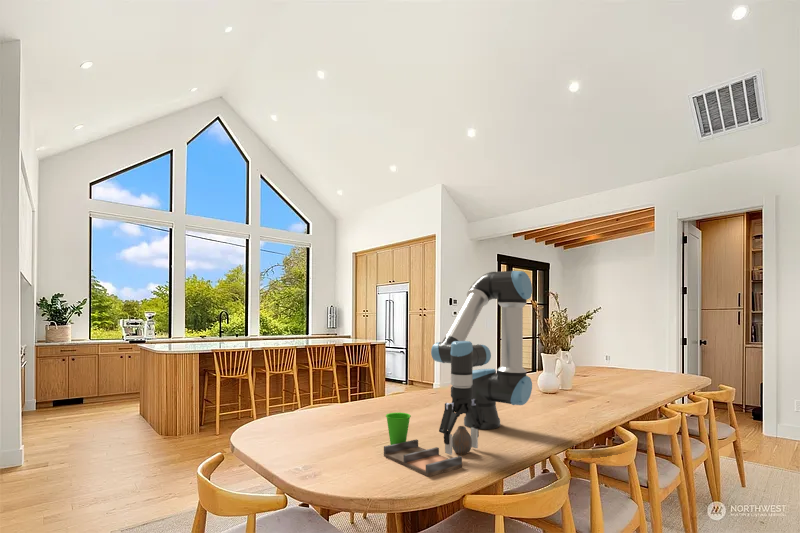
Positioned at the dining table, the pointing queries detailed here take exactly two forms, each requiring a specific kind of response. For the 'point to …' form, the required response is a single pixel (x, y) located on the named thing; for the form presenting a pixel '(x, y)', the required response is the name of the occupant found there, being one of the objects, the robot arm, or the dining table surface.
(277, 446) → the dining table surface
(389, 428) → the cup
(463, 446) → the vase
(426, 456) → the rack
